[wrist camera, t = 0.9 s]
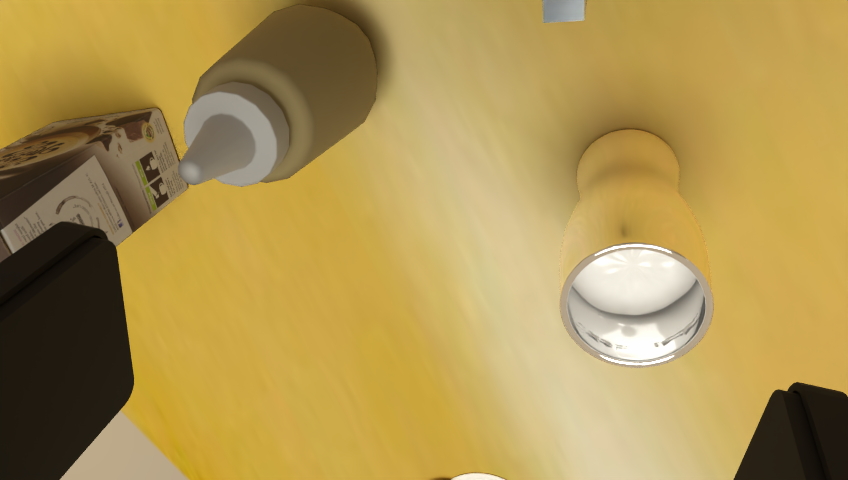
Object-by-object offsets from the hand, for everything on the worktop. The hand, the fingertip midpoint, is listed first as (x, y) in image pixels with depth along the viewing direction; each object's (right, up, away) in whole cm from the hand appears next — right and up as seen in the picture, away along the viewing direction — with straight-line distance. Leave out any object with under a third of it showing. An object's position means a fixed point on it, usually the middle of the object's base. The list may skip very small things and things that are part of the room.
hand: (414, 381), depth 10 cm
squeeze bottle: (-6, +13, +36) cm, 39 cm away
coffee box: (-21, +8, +42) cm, 48 cm away
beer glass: (+13, +6, +35) cm, 38 cm away
